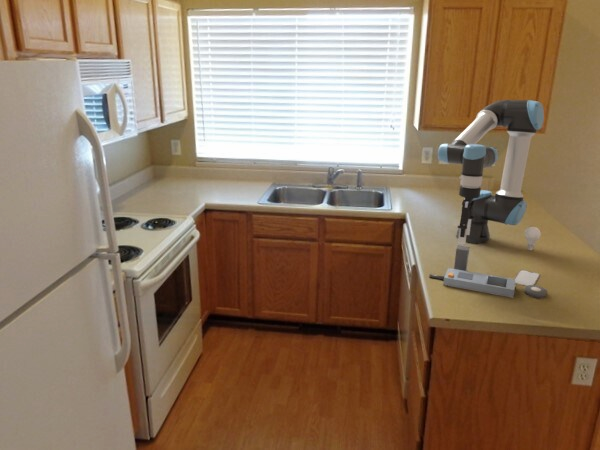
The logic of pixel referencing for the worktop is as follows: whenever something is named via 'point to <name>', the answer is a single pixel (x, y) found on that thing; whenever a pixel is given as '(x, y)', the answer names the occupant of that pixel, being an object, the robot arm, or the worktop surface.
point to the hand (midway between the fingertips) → (463, 239)
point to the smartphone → (526, 278)
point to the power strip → (478, 282)
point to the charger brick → (461, 258)
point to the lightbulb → (532, 237)
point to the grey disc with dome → (535, 291)
